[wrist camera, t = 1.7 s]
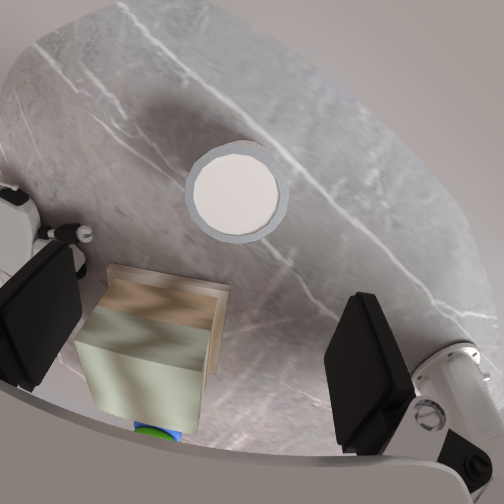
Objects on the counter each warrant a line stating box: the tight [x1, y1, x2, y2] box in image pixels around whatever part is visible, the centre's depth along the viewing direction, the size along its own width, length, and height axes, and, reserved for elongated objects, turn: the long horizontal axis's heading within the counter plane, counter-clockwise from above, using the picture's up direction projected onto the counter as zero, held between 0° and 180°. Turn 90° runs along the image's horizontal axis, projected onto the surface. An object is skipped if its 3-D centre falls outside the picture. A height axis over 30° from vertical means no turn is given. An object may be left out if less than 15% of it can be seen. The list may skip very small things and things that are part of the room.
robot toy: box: [0, 182, 93, 279], centre depth 28 cm, size 12×4×15 cm
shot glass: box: [184, 140, 290, 244], centre depth 23 cm, size 7×7×7 cm
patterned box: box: [74, 263, 230, 435], centre depth 29 cm, size 13×13×11 cm
